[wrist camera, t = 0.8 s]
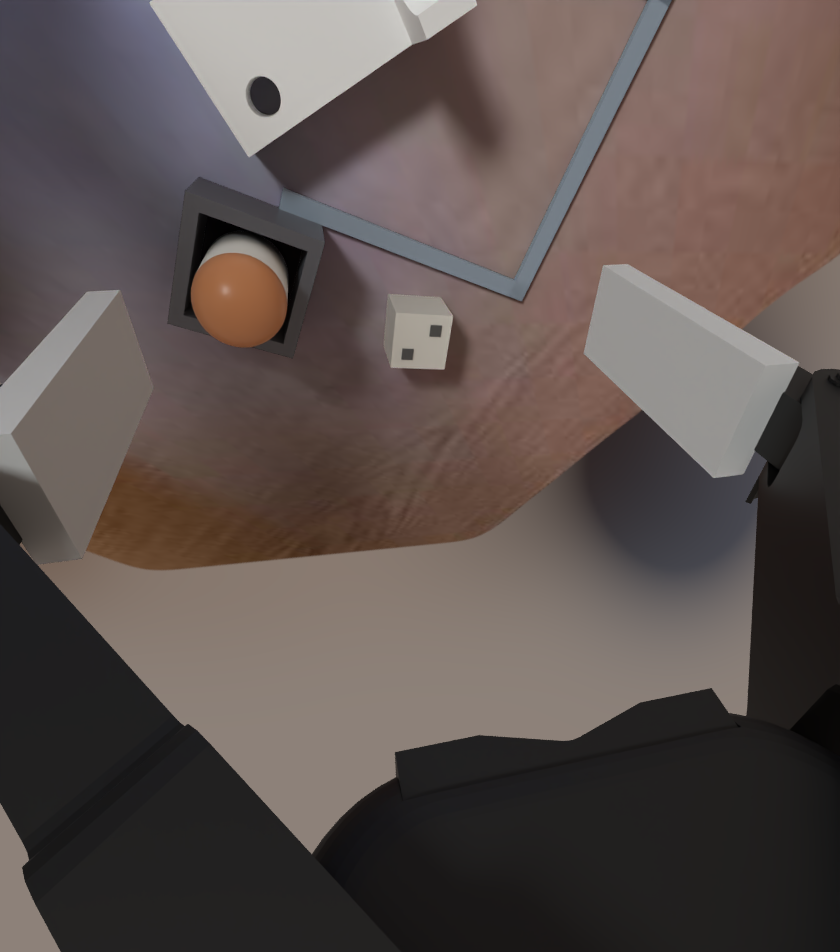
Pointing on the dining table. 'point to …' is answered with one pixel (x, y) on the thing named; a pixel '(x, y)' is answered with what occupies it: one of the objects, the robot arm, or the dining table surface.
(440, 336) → the die
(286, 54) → the bracket
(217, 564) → the dining table surface
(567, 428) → the dining table surface
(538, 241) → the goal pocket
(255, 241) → the orange and white capsule
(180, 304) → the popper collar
